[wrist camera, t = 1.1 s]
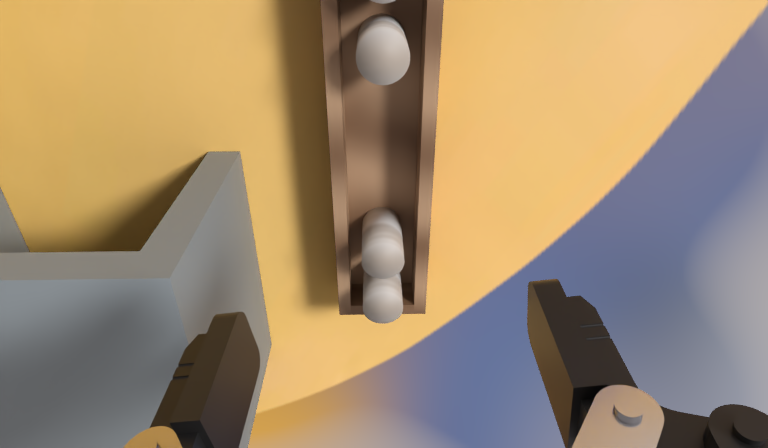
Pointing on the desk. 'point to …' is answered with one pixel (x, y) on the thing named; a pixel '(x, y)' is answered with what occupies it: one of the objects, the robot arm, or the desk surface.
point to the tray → (382, 148)
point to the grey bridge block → (123, 317)
